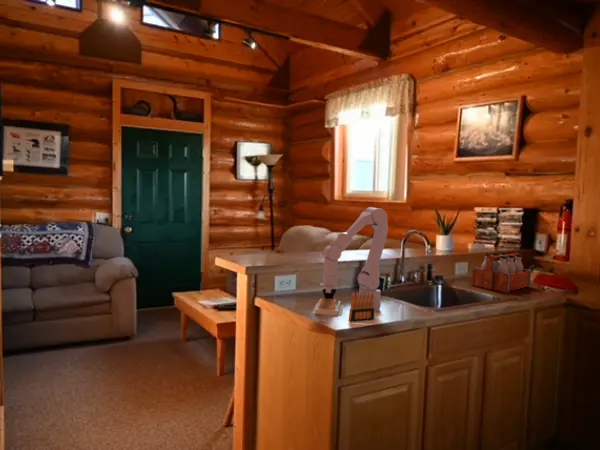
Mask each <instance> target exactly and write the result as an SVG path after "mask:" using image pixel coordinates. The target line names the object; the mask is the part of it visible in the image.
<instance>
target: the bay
mask: <svg viewBox="0 0 600 450" xmlns="http://www.w3.org/2000/svg"><path fill="white" fill-rule="evenodd" d="M320 300H321V298H320V299H319V300H318V302H316V303H315V306H314V309H313V310H312V313H311V314H312V315H320V316H321V315H324V316H332V317H333V316H335V317H342V315H343V310H344V305H341V300H338V301H337V304H335V310H331V309H320Z"/></svg>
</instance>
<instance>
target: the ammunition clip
mask: <svg viewBox="0 0 600 450" xmlns="http://www.w3.org/2000/svg"><path fill="white" fill-rule="evenodd" d="M358 291H359V290H358ZM358 291H356V293H355V292H354V291H353V292H352V294H351V301H350V308H349V316H348V321H349V322H350V323H351V322H354V323H355V322H364V321H374V320H375V311H374V293H373V291H372V293H371V299H370V292H369V291H368V294H367V300H366V291H365V292H364V295H363V301H362V291H361V292H360V297H359V292H358Z"/></svg>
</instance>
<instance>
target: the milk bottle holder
mask: <svg viewBox="0 0 600 450" xmlns="http://www.w3.org/2000/svg"><path fill="white" fill-rule="evenodd" d="M484 254H485V255H484V260H483V263H482V264H481V267H472V277H471V279H470V286H473V287H479V288H482V287H483V288H482V289H487V290H492V289H493V291H497V290H498V291H497V292H502V293H509V292H511V290H512V291H516V289H517V290H521V289H520V288H522V289H525V288H524V287H529V288H531V285H532V270H531V269H527V268H524V265H523V263H522V258H523V256H522V254H520V253H519V252H518V251H517V252H516V251H514V252H513V253H511V254H507V252H504V251H500V255H498V254H499V253H498V252H492V254H491V253H487V252H486V253H484Z"/></svg>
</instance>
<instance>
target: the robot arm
mask: <svg viewBox="0 0 600 450" xmlns="http://www.w3.org/2000/svg"><path fill="white" fill-rule="evenodd" d="M388 217H389V214H387V212H386V211H385V209H384V208H380V207H378V208H377V207H373V206H369V207H367V208H365V209H364V211H362V212H361V213H360V215H359V216H358V217H357V219H356V220H355V221H354V222H353V223H352V224H351V225H350V227H349V228H348V229H347V230H346V231H345V232H343V231H342V232H341V233H338V234H337V237H336V238H335V239H334V240H333V241H332V242H331V241H330V243H329V245H326V246H325V247H324V249H323V251H322V253H321V254H322V255H323V256H322V257H324V262H323V279H322V281H323V282H322V283H320V284H319V286H320V287H323V289H322V293H323V297H324V298H327V299H334V296H335V294H336V293H337V287H338V285H337V284H338V283H337V281H338V266H339V263H338V262H339V259H341V256H342V252H344V251H345V250H346V248H347V247H348V246H349V245H351V243H352V240H353V237H355V235H356V234H357V233H359V231H361V230H362V229H363V228H364V227H366V226H368V225H369V226H370V225H371V227H372V228H373V229H374V234H373V236H372V237H373V238H372V240H371V244H370V248H369V252H368V255H367V259H366V262H365V265H364V266H363V267H362V268H361V271H360V272H359V273H358V275H357V283H358V285H359V289H358V291H359V292H358V294H359V297H360V292H361V291H362V301H363V295H364V292H365V291H366V300H367V294H368V291H369V292H370V299H371V293H372V291H373V293H374V312H376V313H379V312H380V308H381V306H382V305H381V304H382V303H381V296H382V295H381V289H378V287H379V286H380V276H381V274H380V271H379V267H380V263H381V259H382V255H383V251H384V249H385V248H384V247H385V243H386V240H387V236H388V232H389V223H388V222H389V221H388Z"/></svg>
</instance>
